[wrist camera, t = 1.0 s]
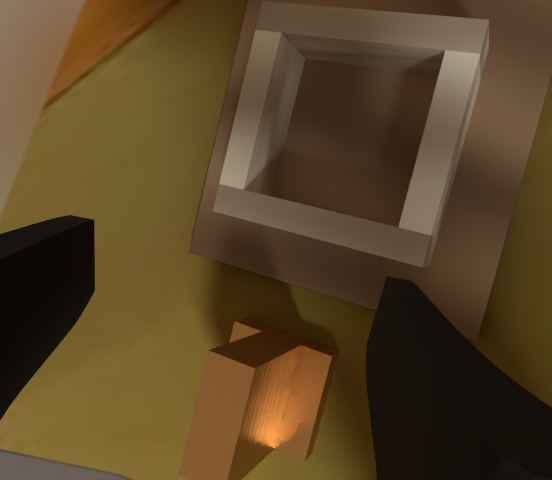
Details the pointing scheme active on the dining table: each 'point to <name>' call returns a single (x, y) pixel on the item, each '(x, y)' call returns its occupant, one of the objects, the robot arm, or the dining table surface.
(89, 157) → the dining table surface
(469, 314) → the well block
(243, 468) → the wooden stepped block
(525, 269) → the dining table surface
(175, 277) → the dining table surface
